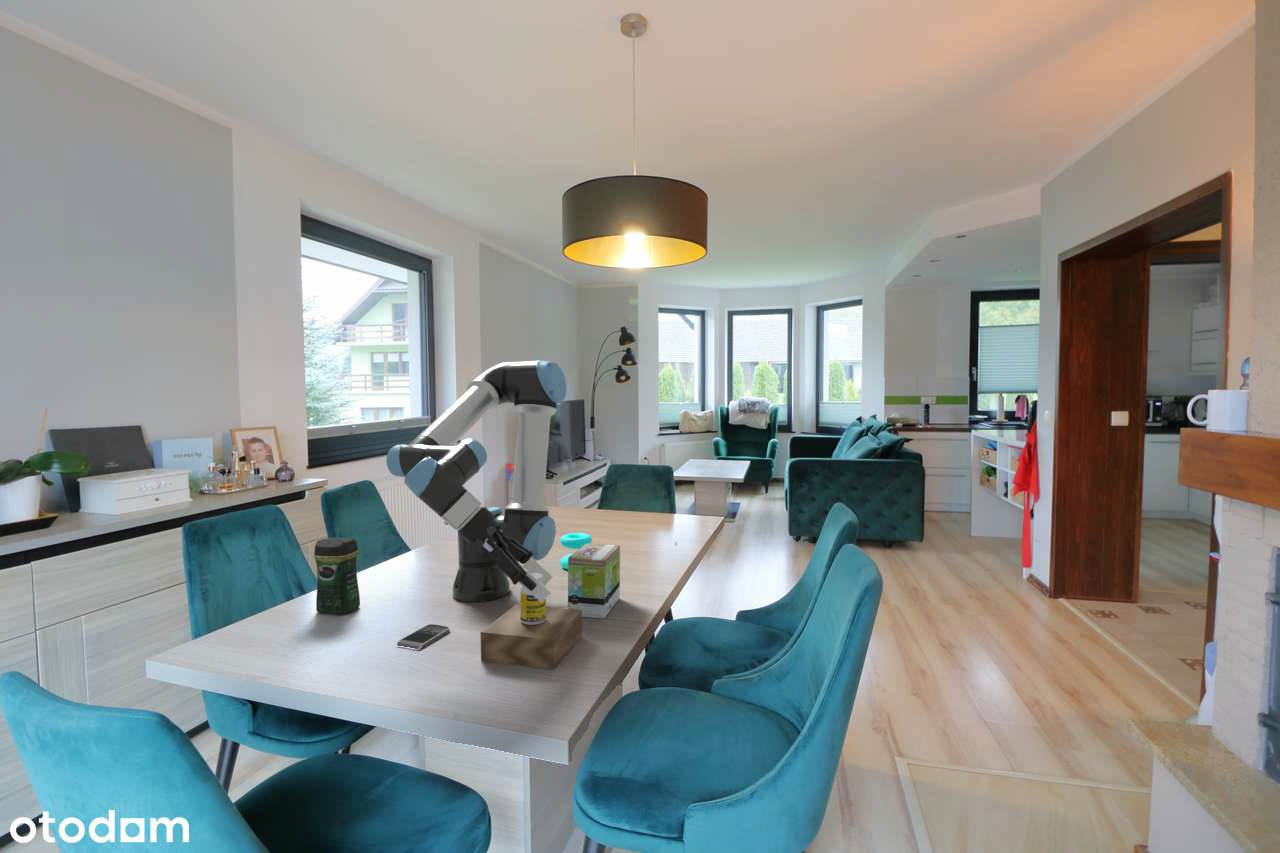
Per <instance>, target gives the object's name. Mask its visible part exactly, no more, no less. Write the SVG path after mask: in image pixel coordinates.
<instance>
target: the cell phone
mask: <svg viewBox="0 0 1280 853" xmlns="http://www.w3.org/2000/svg"><path fill="white" fill-rule="evenodd" d="M449 632H450V627H449V626H445V625H440V624H427V625H424V626H423V627H421V628H420V629H417V630H416V631H413V632H412V633H410V634H408V635H406V636H405V637H403V638H401V639H400V640H398V641H397V644H396V646H397V645H398V646H404V647H410V648H415V649H419V648H422V647H423V648H425V647H426V646H425V645H427V644H428V645H430V644H431V642H432V641H433V642H435V641H436V639H437V640H439V639H440V638H441V636H442V637H444V636H445V635H446V633H447V634H448V633H449ZM444 634H445V635H444ZM439 637H440V638H439ZM434 640H435V641H434ZM433 642H432V643H433ZM429 643H430V644H429ZM428 645H427V646H428ZM398 646H397V647H398ZM424 646H425V647H424ZM423 648H422V649H423ZM419 650H420V649H419Z"/></svg>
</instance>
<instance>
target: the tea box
mask: <svg viewBox="0 0 1280 853" xmlns="http://www.w3.org/2000/svg"><path fill="white" fill-rule="evenodd" d="M571 554H572V555H571V556H570V557H569V558H568V569H567V571H568V573H567V609H573V610H582V618H591V619H605V618H606V617H607V616H608V614H609V613H610V612H611V610H612V608H613V607H614V606H615V605H616V603H617V602H618V600H619V599H620V595H621V591H620V588H621V584H620V583H621V579H620V578H621V576H620V575H621V574H620V573H621V545H616V544H615V545H614V544H602V543H601V544H599V543H591V544H585V545H584V546H582V547H581V548H580V549H576V550H575V552H573V553H571Z"/></svg>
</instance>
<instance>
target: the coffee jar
mask: <svg viewBox="0 0 1280 853" xmlns="http://www.w3.org/2000/svg"><path fill="white" fill-rule="evenodd" d="M313 554H314V555H313V556H314V560H315V563H316V571H317V574H316V576H317V579H316V580H317V582H316V583H317V584H316V603H315V604H316V608H315V609H316V612H317V613H318V614H322V615H334V616H335V615H344V614H348V613H352V612H355V611H356V610H357V609H358V608H359V607H360V605H361V598H360V590H359V584H358V574H357V557H358V554H359V548H358V542H357V540H356V539H355V538H351V537H350V538H348V537H347V538H346V537H325V538H322V539H319V540H317V541H316V543H315V545H314V553H313Z"/></svg>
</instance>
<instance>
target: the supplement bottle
mask: <svg viewBox="0 0 1280 853" xmlns="http://www.w3.org/2000/svg"><path fill="white" fill-rule="evenodd" d="M531 574H532V575H533V576H534V577H535V578H536V579H537V580H538V581H539V582H540V583H543V575H542V574H540V573H531ZM543 585H544V584H543ZM544 586H545V587H546V585H544ZM546 588H547V587H546ZM519 605H520V621H521V622H522V623H524V624H527V625H536V624H540V623H543V622H544V621H545V619H546V607H547V598H546V599H545V600H544V601H543V602H542V603H541V602H540V601H539V600H538V599H537V598H535V597H534V596H533V595H532V594H531V593H530V592H529V591H528V590H527V589H526V588H524V587H523V586H522V585H521V588H520V604H519Z"/></svg>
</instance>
